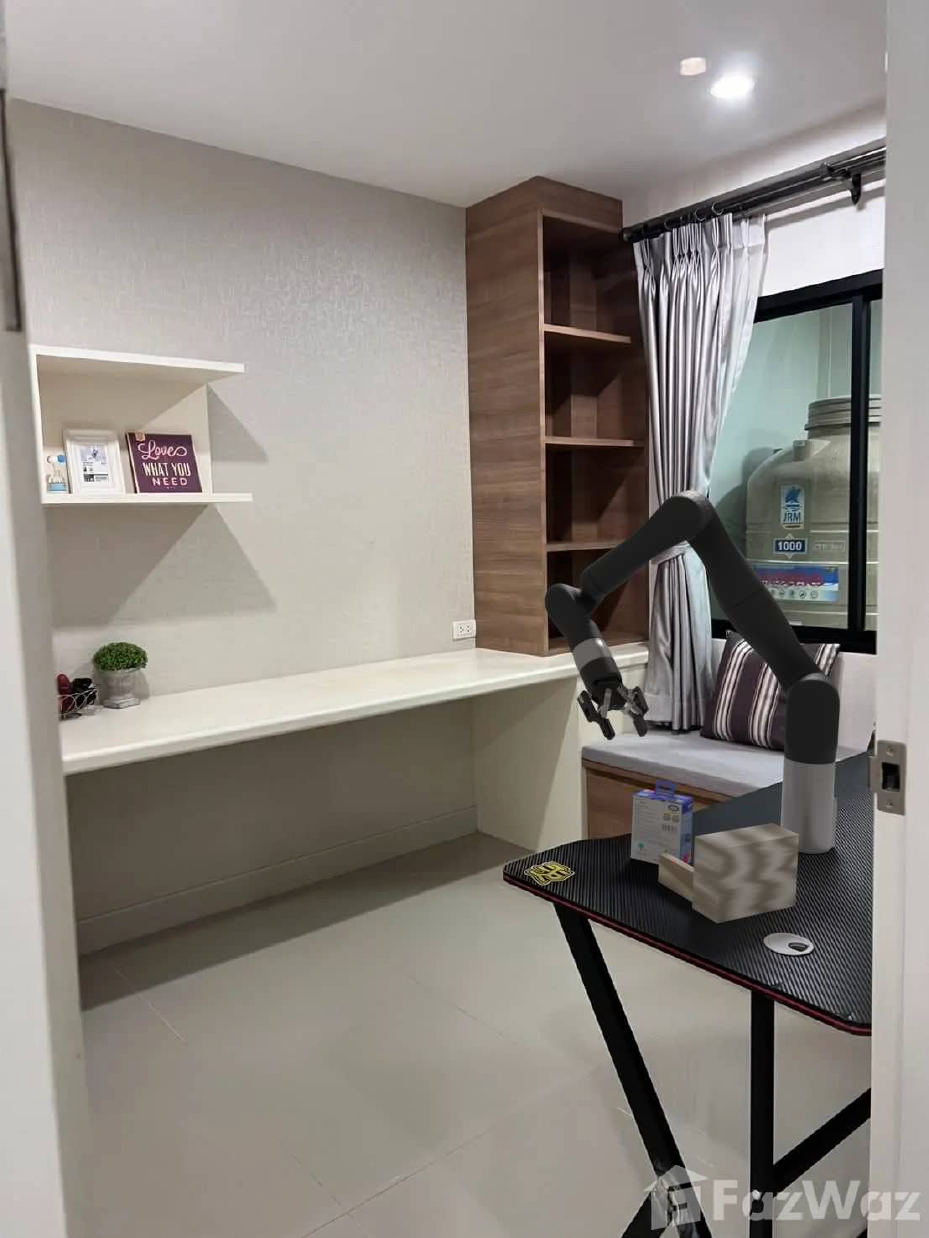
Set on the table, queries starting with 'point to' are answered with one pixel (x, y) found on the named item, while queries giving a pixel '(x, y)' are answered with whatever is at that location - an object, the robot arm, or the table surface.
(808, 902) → the table surface
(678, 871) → the cartridge dock
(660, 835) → the ink cartridge box
